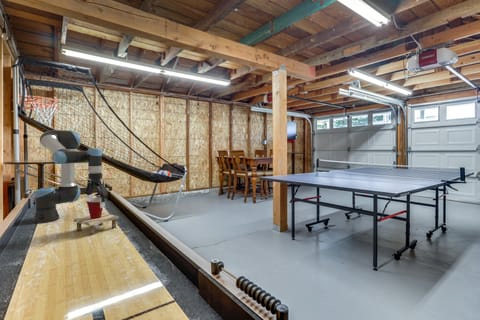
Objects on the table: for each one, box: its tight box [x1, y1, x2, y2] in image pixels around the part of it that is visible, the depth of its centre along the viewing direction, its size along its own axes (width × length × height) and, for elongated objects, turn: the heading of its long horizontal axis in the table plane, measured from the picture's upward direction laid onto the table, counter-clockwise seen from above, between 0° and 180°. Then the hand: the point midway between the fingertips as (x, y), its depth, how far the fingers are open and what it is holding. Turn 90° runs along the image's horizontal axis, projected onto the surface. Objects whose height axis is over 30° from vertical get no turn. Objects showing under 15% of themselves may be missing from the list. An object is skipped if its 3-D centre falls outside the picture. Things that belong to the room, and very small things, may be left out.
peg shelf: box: [73, 212, 119, 236], centre depth 159 cm, size 18×18×8 cm
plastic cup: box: [85, 197, 104, 219], centre depth 158 cm, size 11×11×12 cm
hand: (96, 206), depth 158 cm, fingers open, 13 cm apart
